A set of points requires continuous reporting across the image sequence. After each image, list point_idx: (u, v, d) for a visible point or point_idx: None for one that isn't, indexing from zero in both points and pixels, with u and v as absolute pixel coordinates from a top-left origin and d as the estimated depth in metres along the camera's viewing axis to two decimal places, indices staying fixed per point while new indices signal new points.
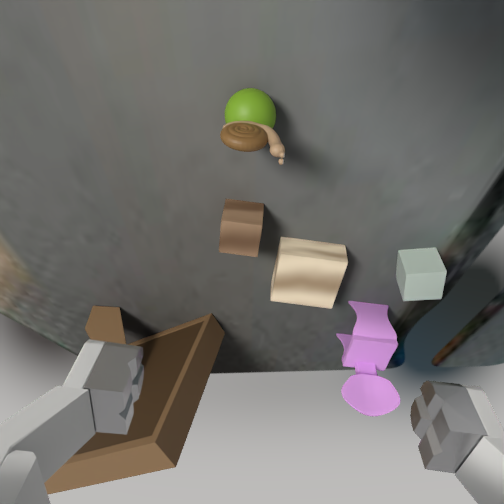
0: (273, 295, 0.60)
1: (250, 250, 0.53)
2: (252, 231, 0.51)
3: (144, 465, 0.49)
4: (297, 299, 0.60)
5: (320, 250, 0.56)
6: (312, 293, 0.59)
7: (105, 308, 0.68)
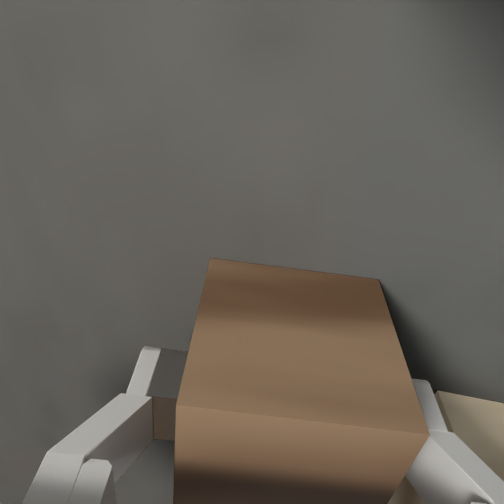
0: None
1: None
2: (362, 458, 0.09)
3: None
4: None
5: None
6: None
7: None
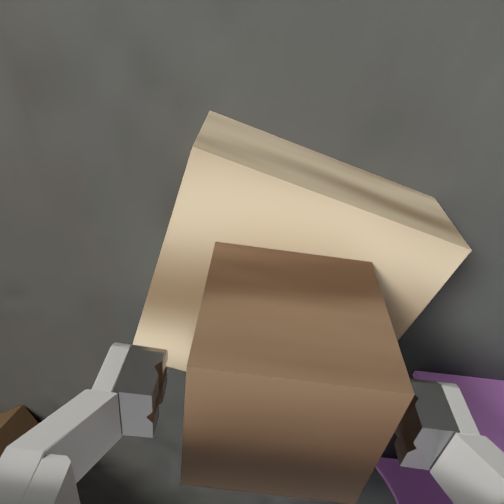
0: (141, 337, 0.16)
1: (327, 484, 0.11)
2: (354, 418, 0.10)
3: None
4: None
5: (359, 187, 0.14)
6: None
7: None
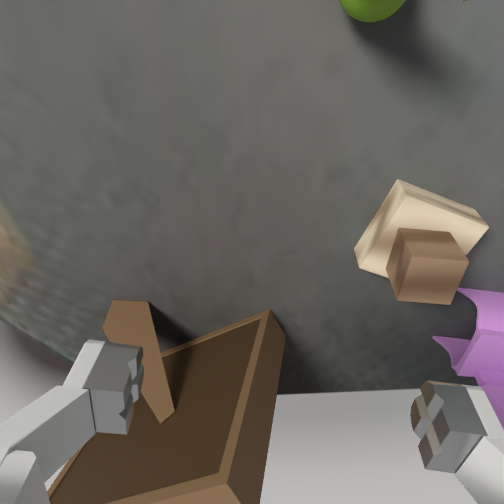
0: (367, 260, 0.43)
1: (442, 296, 0.39)
2: (453, 270, 0.37)
3: None
4: None
5: (451, 206, 0.41)
6: None
7: (129, 302, 0.52)
